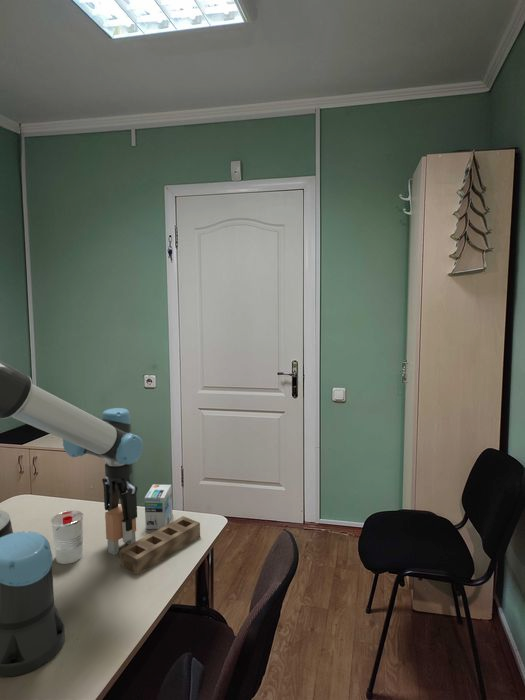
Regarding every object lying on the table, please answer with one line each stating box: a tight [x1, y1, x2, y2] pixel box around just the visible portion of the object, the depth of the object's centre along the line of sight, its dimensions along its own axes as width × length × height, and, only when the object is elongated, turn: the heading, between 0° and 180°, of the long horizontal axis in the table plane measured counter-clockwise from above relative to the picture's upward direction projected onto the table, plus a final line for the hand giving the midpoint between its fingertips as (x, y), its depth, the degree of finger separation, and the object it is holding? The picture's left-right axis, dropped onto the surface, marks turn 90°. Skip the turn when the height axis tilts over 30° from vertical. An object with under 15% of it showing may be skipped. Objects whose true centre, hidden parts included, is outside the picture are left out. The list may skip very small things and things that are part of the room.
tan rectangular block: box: [104, 505, 137, 556], centre depth 133 cm, size 8×4×12 cm, turn 144°
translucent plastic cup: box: [50, 510, 84, 565], centre depth 128 cm, size 10×8×12 cm
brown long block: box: [119, 516, 201, 576], centre depth 131 cm, size 24×7×4 cm, turn 144°
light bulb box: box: [144, 483, 173, 530], centre depth 148 cm, size 11×7×11 cm, turn 179°
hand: (121, 536), depth 133 cm, fingers open, 5 cm apart
